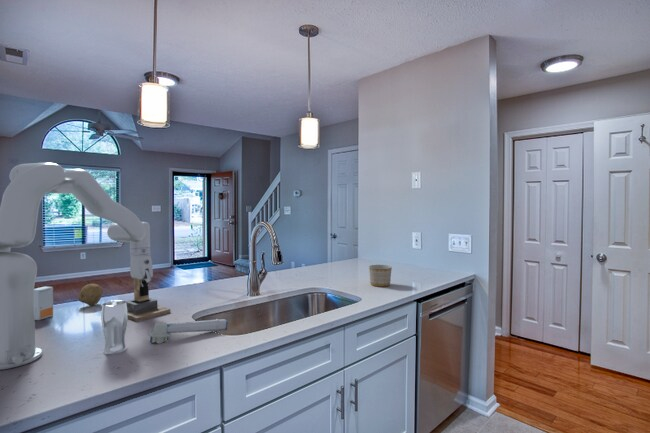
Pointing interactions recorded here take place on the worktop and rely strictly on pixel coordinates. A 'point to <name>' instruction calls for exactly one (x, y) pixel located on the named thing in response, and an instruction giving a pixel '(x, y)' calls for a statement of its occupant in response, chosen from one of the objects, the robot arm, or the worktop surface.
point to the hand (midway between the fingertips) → (141, 294)
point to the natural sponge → (90, 294)
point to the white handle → (185, 328)
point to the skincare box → (43, 302)
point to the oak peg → (137, 291)
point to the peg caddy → (144, 309)
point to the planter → (380, 275)
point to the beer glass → (114, 326)
